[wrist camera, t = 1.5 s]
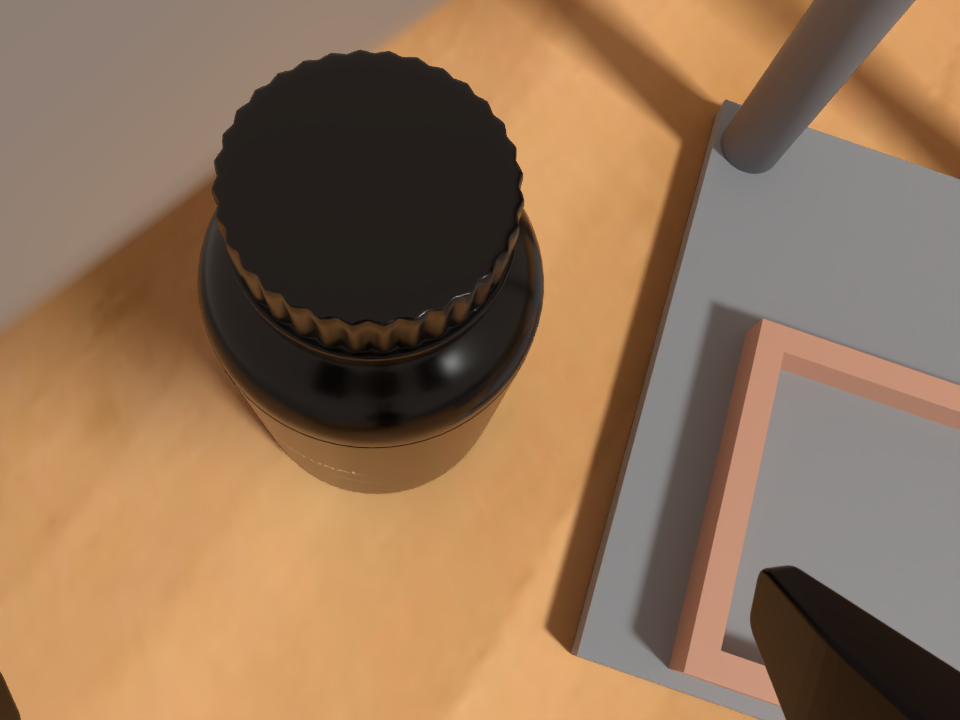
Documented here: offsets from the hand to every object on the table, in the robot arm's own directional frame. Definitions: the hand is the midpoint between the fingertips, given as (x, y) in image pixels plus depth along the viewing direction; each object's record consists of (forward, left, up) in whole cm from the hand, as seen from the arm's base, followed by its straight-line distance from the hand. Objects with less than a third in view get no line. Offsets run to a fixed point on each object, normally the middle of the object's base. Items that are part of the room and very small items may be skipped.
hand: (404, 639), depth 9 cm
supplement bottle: (+6, +3, -13) cm, 14 cm away
